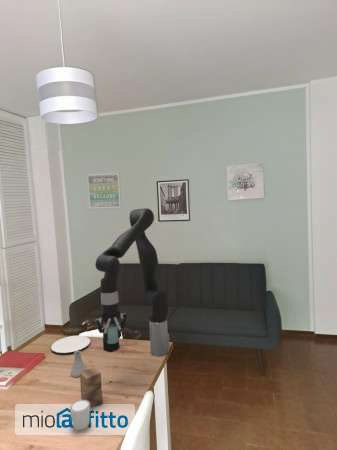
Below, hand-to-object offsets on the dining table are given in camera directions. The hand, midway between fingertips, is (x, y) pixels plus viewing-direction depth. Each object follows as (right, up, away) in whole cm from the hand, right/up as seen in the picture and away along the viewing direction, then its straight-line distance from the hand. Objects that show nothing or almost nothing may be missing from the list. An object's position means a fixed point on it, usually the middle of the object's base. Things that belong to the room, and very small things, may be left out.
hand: (112, 339), depth 135 cm
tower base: (-6, -20, -13) cm, 24 cm away
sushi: (-6, -17, +32) cm, 37 cm away
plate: (-30, -18, +37) cm, 50 cm away
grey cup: (-7, -21, -25) cm, 34 cm away
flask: (-17, -19, +8) cm, 27 cm away
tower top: (-6, -14, -13) cm, 20 cm away
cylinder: (0, -1, 0) cm, 1 cm away
